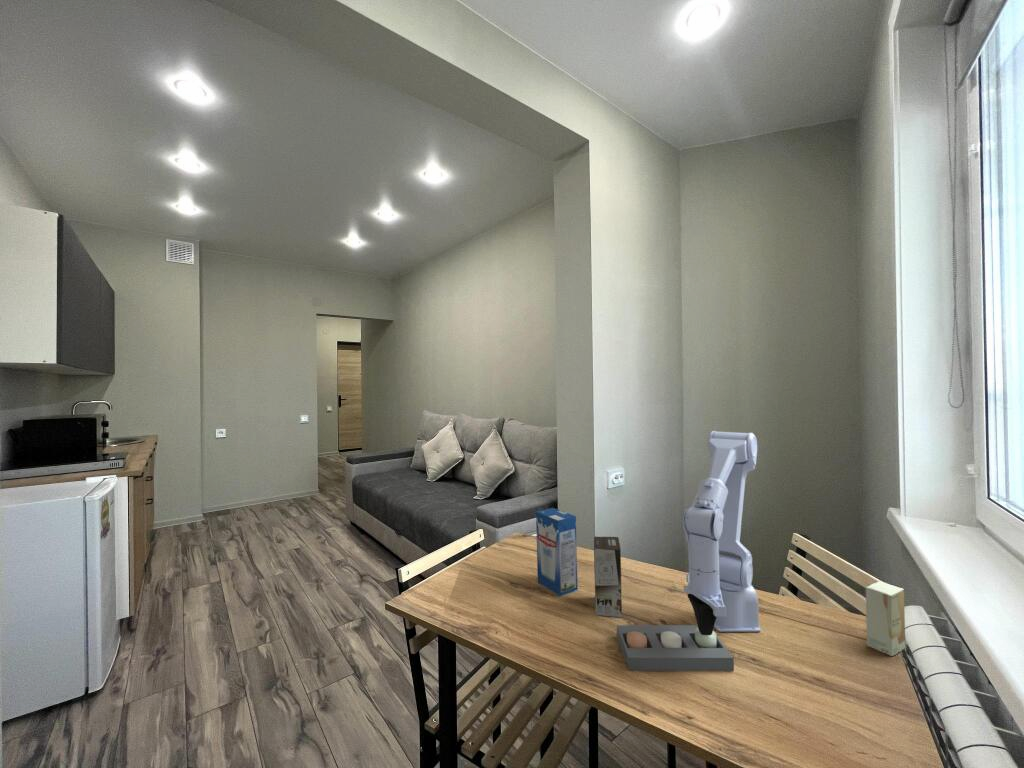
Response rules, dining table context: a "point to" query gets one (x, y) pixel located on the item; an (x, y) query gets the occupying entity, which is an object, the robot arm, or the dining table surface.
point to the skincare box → (885, 618)
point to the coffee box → (607, 576)
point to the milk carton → (556, 551)
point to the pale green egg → (705, 640)
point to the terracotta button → (636, 640)
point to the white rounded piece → (671, 640)
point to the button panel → (672, 651)
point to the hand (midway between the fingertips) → (705, 633)
